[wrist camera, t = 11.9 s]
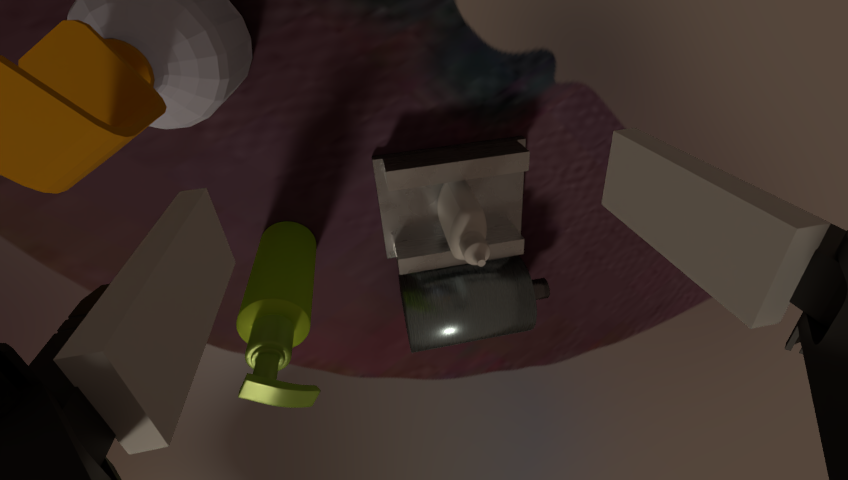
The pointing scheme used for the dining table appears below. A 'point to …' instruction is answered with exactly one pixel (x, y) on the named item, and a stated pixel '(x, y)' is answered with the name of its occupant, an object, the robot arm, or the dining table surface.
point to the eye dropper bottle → (463, 223)
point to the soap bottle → (115, 83)
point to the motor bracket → (430, 253)
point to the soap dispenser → (278, 314)
